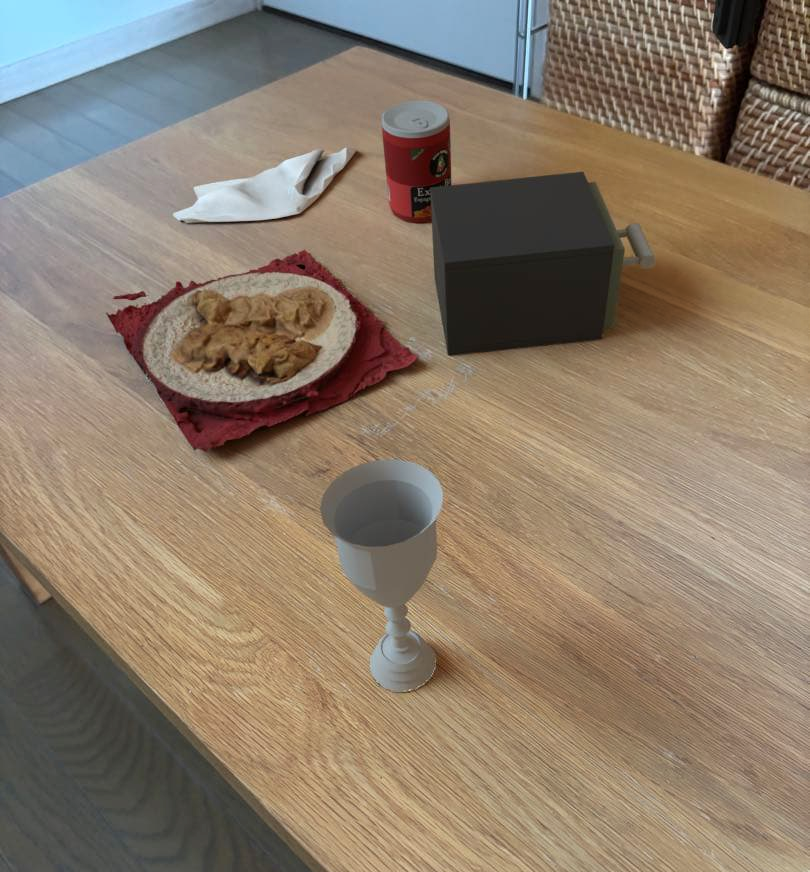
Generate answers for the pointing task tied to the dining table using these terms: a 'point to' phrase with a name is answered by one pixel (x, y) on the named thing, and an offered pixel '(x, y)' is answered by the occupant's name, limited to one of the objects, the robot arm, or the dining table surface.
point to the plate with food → (256, 348)
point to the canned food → (415, 156)
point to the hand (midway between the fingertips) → (730, 41)
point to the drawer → (622, 254)
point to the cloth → (267, 190)
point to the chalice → (388, 554)
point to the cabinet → (520, 262)
